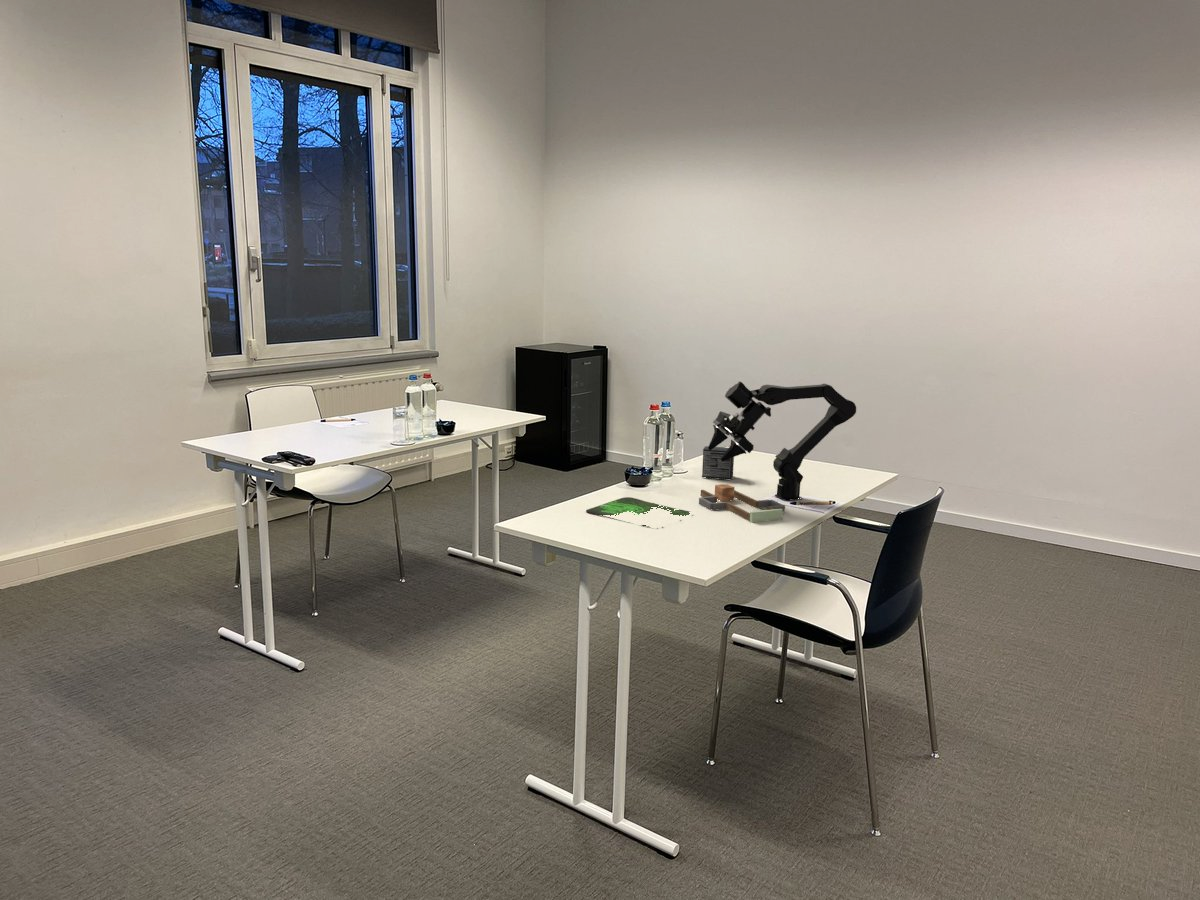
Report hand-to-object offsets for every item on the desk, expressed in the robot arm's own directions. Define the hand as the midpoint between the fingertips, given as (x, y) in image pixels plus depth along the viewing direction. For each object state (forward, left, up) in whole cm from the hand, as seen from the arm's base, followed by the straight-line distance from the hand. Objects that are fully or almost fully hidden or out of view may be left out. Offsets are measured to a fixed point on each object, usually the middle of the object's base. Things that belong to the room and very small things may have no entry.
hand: (715, 454), depth 281 cm
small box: (-16, -25, -15) cm, 33 cm away
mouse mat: (+29, +8, -15) cm, 34 cm away
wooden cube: (-3, +2, -14) cm, 15 cm away
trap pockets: (-3, +12, -14) cm, 19 cm away
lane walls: (-3, +11, -14) cm, 18 cm away
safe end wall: (-3, +26, -14) cm, 30 cm away
